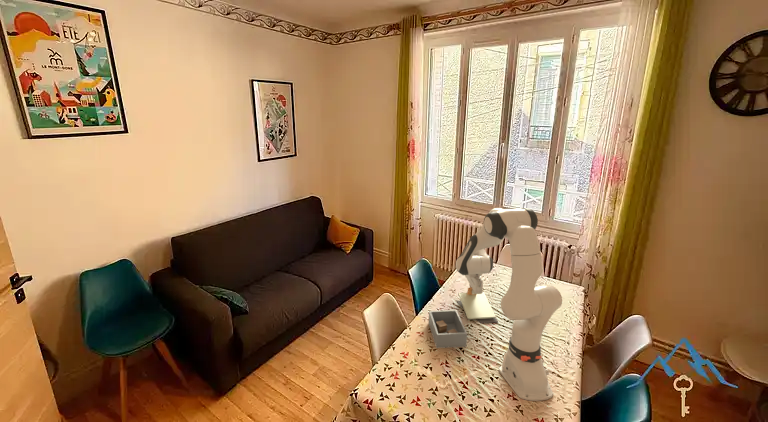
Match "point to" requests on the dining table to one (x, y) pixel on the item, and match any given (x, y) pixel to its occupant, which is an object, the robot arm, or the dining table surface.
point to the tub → (452, 323)
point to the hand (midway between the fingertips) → (472, 292)
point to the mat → (489, 320)
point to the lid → (476, 305)
